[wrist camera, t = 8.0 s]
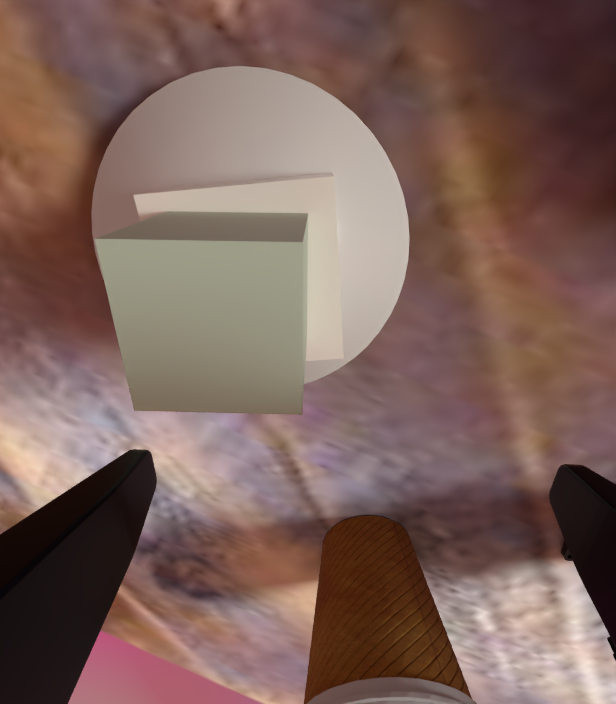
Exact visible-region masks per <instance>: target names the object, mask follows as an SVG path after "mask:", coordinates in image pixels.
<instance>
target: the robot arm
mask: <svg viewBox="0 0 616 704" xmlns="http://www.w3.org/2000/svg"><path fill="white" fill-rule="evenodd" d="M156 483H157V478H156V473H155V468H154V463H153V458H152V455H151V452H150V451H148V450H137V449H133V450H129V451H128V452H126V453H124V454H123V455H121V456H120V457H118V458H117V459H115V460H114V461H112V462H111V463H109V464H108V465H106V466H104V467H103V468H101V469H100V470H98V471H97V472H95V473H94V474H92V475H91V476H89V477H88V478H86V479H85V480H83V481H81V482H80V483H78V484H77V485H75V486H74V487H72V488H71V489H69V490H68V491H66V492H65V493H63V494H62V495H60V496H58V497H57V498H55V499H54V500H52V501H51V502H49V503H48V504H46V505H45V506H43V507H42V508H40V509H39V510H37V511H35V512H34V513H32V514H31V515H29V516H28V517H26V518H25V519H23V520H22V521H20V522H19V523H17V524H15V525H14V526H12V527H11V528H9V529H8V530H6V531H5V532H3V533H2V534H0V704H68V702H69V700H70V697H71V695H72V693H73V691H74V688H75V686H76V684H77V682H78V679H79V677H80V675H81V673H82V670H83V668H84V666H85V663H86V661H87V659H88V657H89V655H90V652H91V650H92V648H93V646H94V643H95V641H96V638H97V637H98V634H99V632H100V630H101V628H102V625H103V623H104V621H105V619H106V616H107V614H108V612H109V610H110V608H111V605H112V603H113V601H114V599H115V596H116V594H117V592H118V590H119V587H120V585H121V583H122V581H123V578H124V576H125V574H126V572H127V569H128V567H129V565H130V562H131V560H132V558H133V555H134V552H135V550H136V547H137V544H138V541H139V538H140V535H141V532H142V529H143V526H144V523H145V519H146V516H147V513H148V510H149V507H150V504H151V501H152V498H153V495H154V492H155V489H156ZM549 499H550V504H551V506H552V509H553V511H554V514H555V516H556V519H557V522H558V524H559V527H560V529H561V532H562V534H563V537H564V539H565V543H564V545H563V548H562V550H561V554H562V556H563V557H564V559H565V560H568V561H573V562H574V564H575V567H576V569H577V571H578V573H579V576H580V578H581V580H582V582H583V584H584V586H585V588H586V590H587V592H588V594H589V596H590V598H591V600H592V602H593V604H594V605H595V607H596V609H597V611H598V613H599V615H600V617H601V619H602V621H603V623H604V625H605V627H606V629H607V631H608V633H609V635H610V637H608V638H607V639H608V642H609V644H610V646H611V648H612V650H613V652H614V654H613V656H614V658H615V660H616V484H614V483H612V482H611V481H609V480H607V479H606V478H604V477H602V476H600V475H599V474H597V473H595V472H594V471H592V470H590V469H589V468H587V467H585V466H583V465H572V464H564V465H561V466H560V467H559V469H558V471H557V474H556V476H555V479H554V481H553V484H552V487H551V489H550V493H549Z"/></svg>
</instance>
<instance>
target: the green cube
mask: <svg viewBox="0 0 616 704" xmlns="http://www.w3.org/2000/svg"><path fill="white" fill-rule="evenodd" d="M94 240H95V244H96V248H97V252H98V257H99V261H100V265H101V270H102V274H103V278H104V283H105V287H106V291H107V295H108V300H109V304H110V308H111V313H112V317H113V321H114V326H115V330H116V334H117V338H118V343H119V347H120V351H121V356H122V360H123V364H124V369H125V373H126V377H127V382H128V386H129V390H130V394H131V399H132V403H133V407H134V411H175V412H216V413H256V414H297V415H302V407H303V393H304V378H305V363H306V349H307V290H308V213H255V212H188V211H166V212H164V213H161V214H158V215H156V216H153V217H150V218H148V219H145V220H143V221H140V222H137V223H135V224H132V225H129V226H127V227H124V228H122V229H119V230H116V231H114V232H111V233H108V234H106V235H103V236H100V237H98V238H95V239H94Z"/></svg>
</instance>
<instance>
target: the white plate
mask: <svg viewBox="0 0 616 704" xmlns="http://www.w3.org/2000/svg"><path fill="white" fill-rule="evenodd" d="M329 172H331V173H332V174H333V175H334V179H335V198H336V218H337V237H338V257H339V276H340V295H341V315H342V334H343V353H344V359H330V360H315V361H306V363H305V378H304V384H306V383H309V382H312V381H314V380H317V379H319V378H322V377H324V376H326V375H328V374H330V373H332V372H334V371H336V370H337V369H339V368H341V367H342V366H344V365H345V364H346V363H348V362H349V361H351V360H352V359H353V358H355V357H356V356H357V355H358V354H359V353H360V352H361V351H362V350H364V349H365V348H366V347H367V346H368V345H369V344H370V342H371V341H372V340H373V339H374V338H375V336H376V335H377V334H378V333H379V332H380V330H381V329H382V327H383V326H384V324H385V323H386V321H387V319H388V318H389V316H390V314H391V312H392V310H393V308H394V306H395V304H396V302H397V300H398V297H399V294H400V291H401V288H402V285H403V282H404V279H405V274H406V268H407V263H408V254H409V225H408V215H407V210H406V205H405V200H404V195H403V192H402V190H401V187H400V184H399V181H398V178H397V175H396V172H395V170H394V169H393V167H392V165H391V163H390V161H389V159H388V157H387V155H386V153H385V151H384V150H383V148H382V147H381V145H380V144H379V142H378V141H377V139H376V138H375V136H374V135H373V133H372V132H371V131H370V130H369V129H368V128H367V127H366V125H365V124H364V123H363V122H362V121H361V120H360V119H359V118H358V117H357V116H356V114H355V113H353V112H352V111H351V110H350V109H349V108H347V107H346V106H345V105H344V104H343V103H341V102H340V101H339V100H338V99H337V98H335V97H334V96H332V95H330V94H329V93H327V92H325V91H324V90H322V89H321V88H319V87H317V86H316V85H314V84H312V83H309V82H307V81H305V80H302V79H300V78H297V77H295V76H293V75H290V74H286V73H282V72H278V71H274V70H270V69H267V68H257V67H246V66H235V67H220V68H213V69H209V70H205V71H201V72H196V73H192V74H190V75H188V76H185V77H183V78H180V79H178V80H176V81H173V82H171V83H169V84H168V85H166V86H164V87H163V88H161V89H160V90H158V91H156V92H155V93H153V94H152V95H150V96H149V97H148V98H147V99H146V100H144V101H143V102H142V103H141V104H140V105H139V106H138V107H137V108H135V109H134V110H133V111H132V112H131V114H130V115H129V116H128V117H127V119H126V120H125V121H124V122H123V124H122V125H121V126H120V127H119V128H118V130H117V132H116V133H115V135H114V137H113V139H112V140H111V142H110V144H109V145H108V147H107V149H106V152H105V154H104V157H103V159H102V162H101V164H100V167H99V169H98V174H97V178H96V182H95V186H94V191H93V201H92V211H91V215H92V235H93V241H94V247H95V253H96V257H97V261H98V264H99V267H100V271H101V274H102V270H101V265H100V261H99V257H98V252H97V248H96V244H95V240H94V239H95V238H98V237H100V236H103V235H106V234H108V233H111V232H114V231H116V230H119V229H122V228H124V227H127V226H129V225H132V224H135V223H137V222H140V218H139V215H138V211H137V207H136V203H135V200H134V196H133V195H135V194H140V193H144V192H148V191H153V190H157V189H162V188H171V187H181V186H192V185H202V184H213V183H224V182H234V181H245V180H255V179H266V178H277V177H287V176H298V175H308V174H319V173H329ZM102 277H103V274H102ZM103 279H104V278H103Z"/></svg>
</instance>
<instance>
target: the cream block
mask: <svg viewBox="0 0 616 704" xmlns="http://www.w3.org/2000/svg"><path fill="white" fill-rule="evenodd" d="M133 196H134V200H135V203H136V207H137V211H138V215H139V218H140V221H143V220H145V219H148V218H150V217H153V216H156V215H158V214H161V213H164V212H166V211H188V212H255V213H308V290H307V349H306V361H315V360H330V359H344V353H343V334H342V315H341V295H340V276H339V257H338V237H337V218H336V198H335V179H334V175H333V174H332V173H331V172H329V173H319V174H308V175H298V176H287V177H277V178H266V179H255V180H245V181H234V182H224V183H213V184H202V185H192V186H181V187H171V188H162V189H157V190H153V191H148V192H144V193H140V194H135V195H133Z"/></svg>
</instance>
